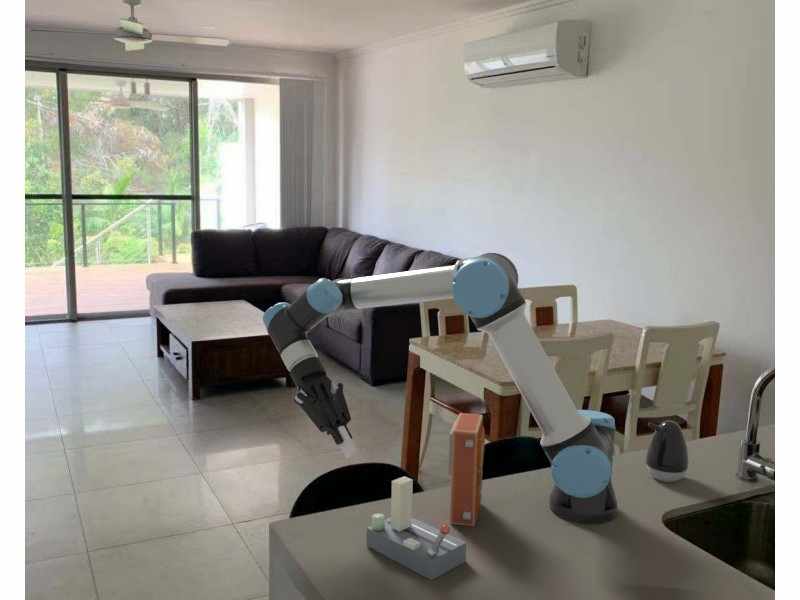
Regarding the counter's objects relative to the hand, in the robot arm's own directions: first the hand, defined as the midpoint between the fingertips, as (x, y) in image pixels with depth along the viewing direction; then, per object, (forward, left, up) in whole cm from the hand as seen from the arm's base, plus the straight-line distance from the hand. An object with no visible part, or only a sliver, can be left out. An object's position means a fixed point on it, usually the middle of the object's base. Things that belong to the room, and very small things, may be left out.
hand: (352, 455), depth 159 cm
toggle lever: (-18, +19, -12) cm, 29 cm away
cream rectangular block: (-12, +9, -11) cm, 18 cm away
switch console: (-15, +12, -16) cm, 24 cm away
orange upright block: (-25, -8, -16) cm, 30 cm away
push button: (-7, +10, -12) cm, 17 cm away
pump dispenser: (-76, -34, -16) cm, 84 cm away
